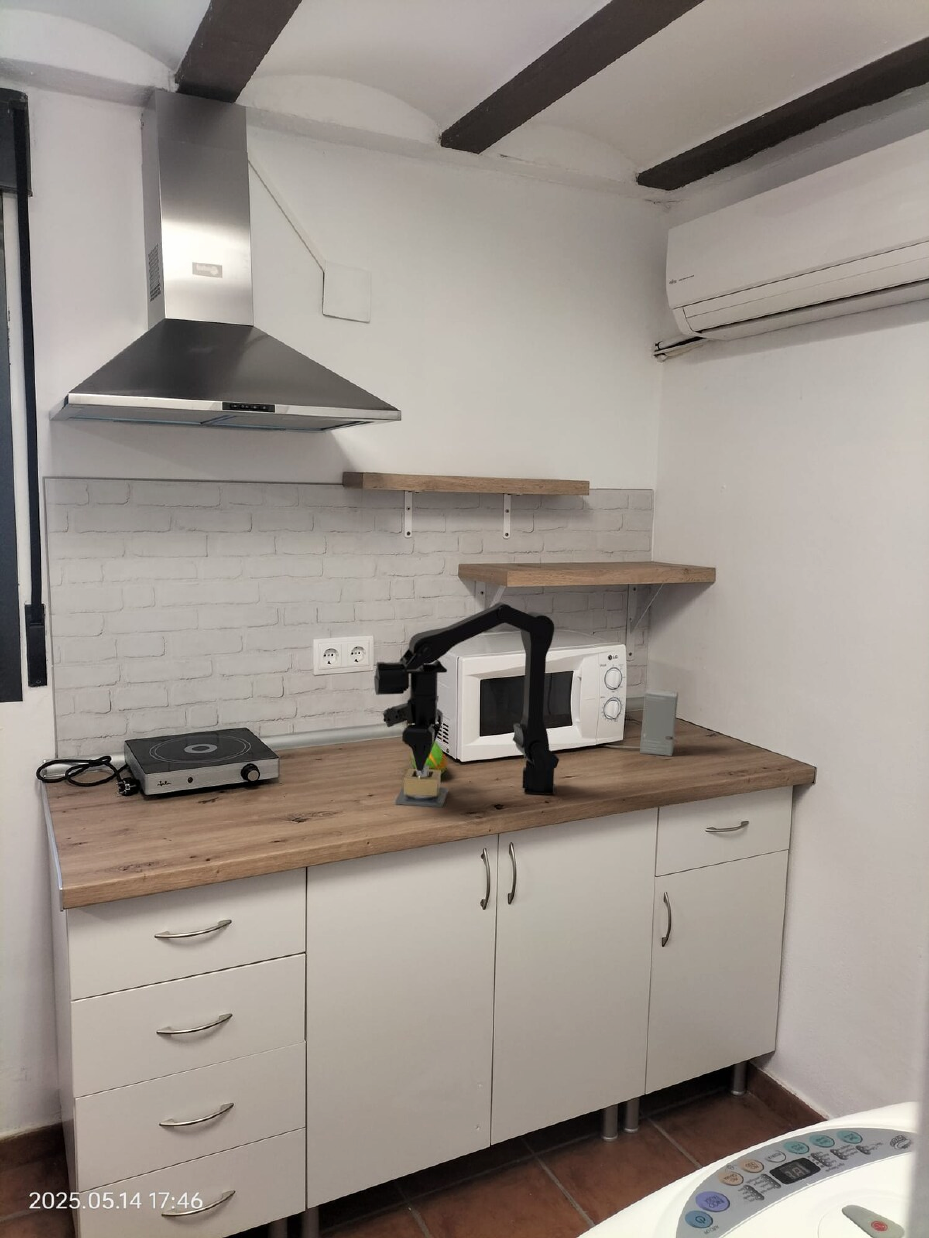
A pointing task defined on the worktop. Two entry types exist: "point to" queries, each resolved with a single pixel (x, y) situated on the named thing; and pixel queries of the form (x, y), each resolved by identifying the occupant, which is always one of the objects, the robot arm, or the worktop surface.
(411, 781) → the collar
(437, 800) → the post
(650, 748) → the skincare box
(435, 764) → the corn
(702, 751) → the worktop surface
